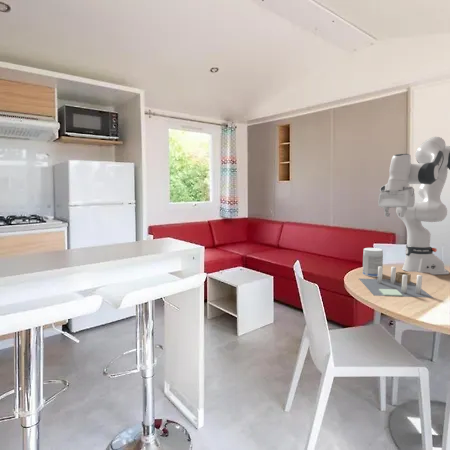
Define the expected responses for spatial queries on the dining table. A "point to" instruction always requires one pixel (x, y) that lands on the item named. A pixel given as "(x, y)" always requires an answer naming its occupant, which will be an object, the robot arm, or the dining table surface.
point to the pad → (390, 292)
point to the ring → (399, 277)
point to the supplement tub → (372, 261)
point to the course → (395, 285)
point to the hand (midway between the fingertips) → (393, 216)
